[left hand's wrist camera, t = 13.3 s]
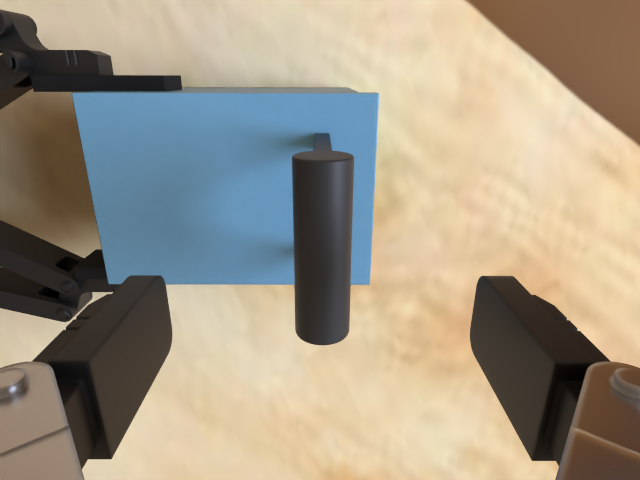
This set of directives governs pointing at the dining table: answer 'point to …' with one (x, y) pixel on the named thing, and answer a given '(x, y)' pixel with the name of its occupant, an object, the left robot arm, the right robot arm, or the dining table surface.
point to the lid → (237, 191)
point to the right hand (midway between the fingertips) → (184, 180)
